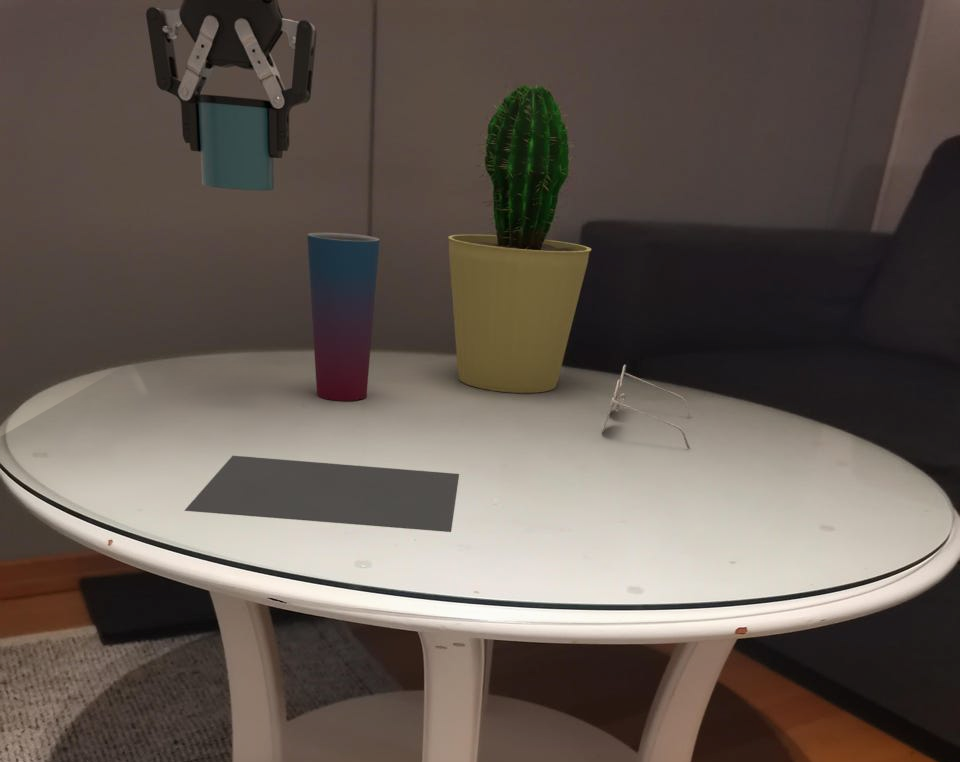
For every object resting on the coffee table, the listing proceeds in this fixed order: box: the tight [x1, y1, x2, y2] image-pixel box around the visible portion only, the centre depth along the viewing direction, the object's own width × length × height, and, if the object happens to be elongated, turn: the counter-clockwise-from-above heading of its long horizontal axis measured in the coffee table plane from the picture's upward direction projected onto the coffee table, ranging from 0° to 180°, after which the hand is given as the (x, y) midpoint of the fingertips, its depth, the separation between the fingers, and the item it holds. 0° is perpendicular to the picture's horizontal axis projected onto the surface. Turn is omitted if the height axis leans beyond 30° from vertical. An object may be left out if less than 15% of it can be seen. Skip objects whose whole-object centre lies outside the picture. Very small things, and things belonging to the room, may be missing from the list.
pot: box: [197, 93, 275, 192], centre depth 87 cm, size 6×11×7 cm, turn 178°
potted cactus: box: [447, 79, 592, 394], centre depth 104 cm, size 15×15×30 cm
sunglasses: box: [601, 364, 693, 449], centre depth 96 cm, size 14×8×5 cm, turn 168°
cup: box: [306, 232, 380, 402], centre depth 96 cm, size 7×7×15 cm
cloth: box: [184, 455, 460, 533], centre depth 71 cm, size 18×13×1 cm
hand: (236, 153), depth 85 cm, fingers closed on pot, 6 cm apart
